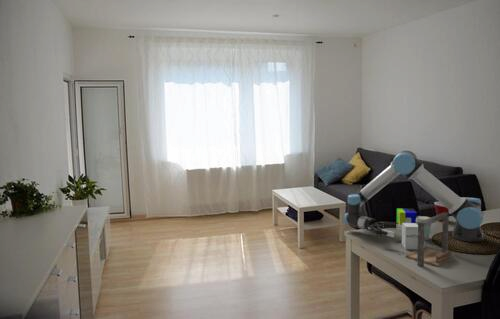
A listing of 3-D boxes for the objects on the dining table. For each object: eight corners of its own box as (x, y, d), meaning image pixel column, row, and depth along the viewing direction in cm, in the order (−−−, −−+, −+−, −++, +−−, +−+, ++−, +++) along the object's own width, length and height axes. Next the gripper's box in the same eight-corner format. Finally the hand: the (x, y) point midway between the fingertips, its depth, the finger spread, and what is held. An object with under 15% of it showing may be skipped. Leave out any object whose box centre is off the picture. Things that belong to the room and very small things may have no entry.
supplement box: (404, 249, 193) (405, 226, 191) (401, 244, 200) (401, 222, 198) (419, 249, 192) (420, 226, 190) (415, 244, 199) (415, 222, 197)
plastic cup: (451, 224, 230) (452, 206, 229) (432, 222, 236) (433, 204, 235) (452, 219, 240) (453, 202, 238) (434, 218, 245) (434, 200, 244)
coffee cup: (416, 234, 214) (416, 215, 213) (432, 236, 210) (432, 216, 209) (414, 239, 207) (414, 219, 205) (431, 241, 203) (431, 220, 201)
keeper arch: (399, 259, 180) (400, 218, 178) (426, 246, 196) (427, 208, 193) (432, 269, 167) (432, 225, 165) (458, 255, 183) (459, 214, 180)
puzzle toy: (416, 228, 226) (416, 212, 225) (399, 228, 228) (399, 212, 227) (412, 223, 236) (413, 208, 235) (396, 223, 238) (396, 208, 237)
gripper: (379, 225, 224) (412, 233, 207) (354, 234, 209) (387, 244, 192) (379, 213, 223) (412, 220, 206) (354, 221, 208) (387, 230, 191)
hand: (400, 231), depth 199 cm, fingers open, 13 cm apart
